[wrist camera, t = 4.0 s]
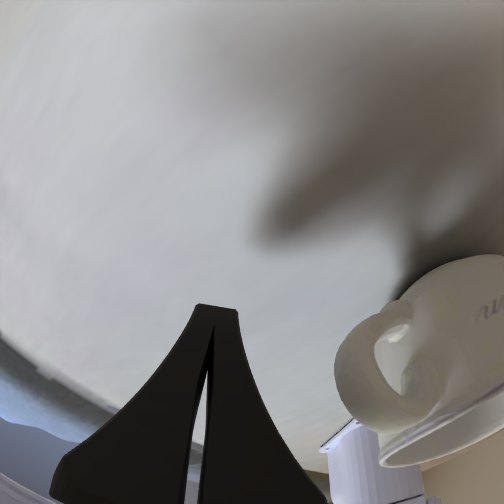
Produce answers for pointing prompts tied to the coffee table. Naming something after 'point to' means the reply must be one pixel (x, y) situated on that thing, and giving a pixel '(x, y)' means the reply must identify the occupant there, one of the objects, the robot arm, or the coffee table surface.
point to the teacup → (430, 364)
